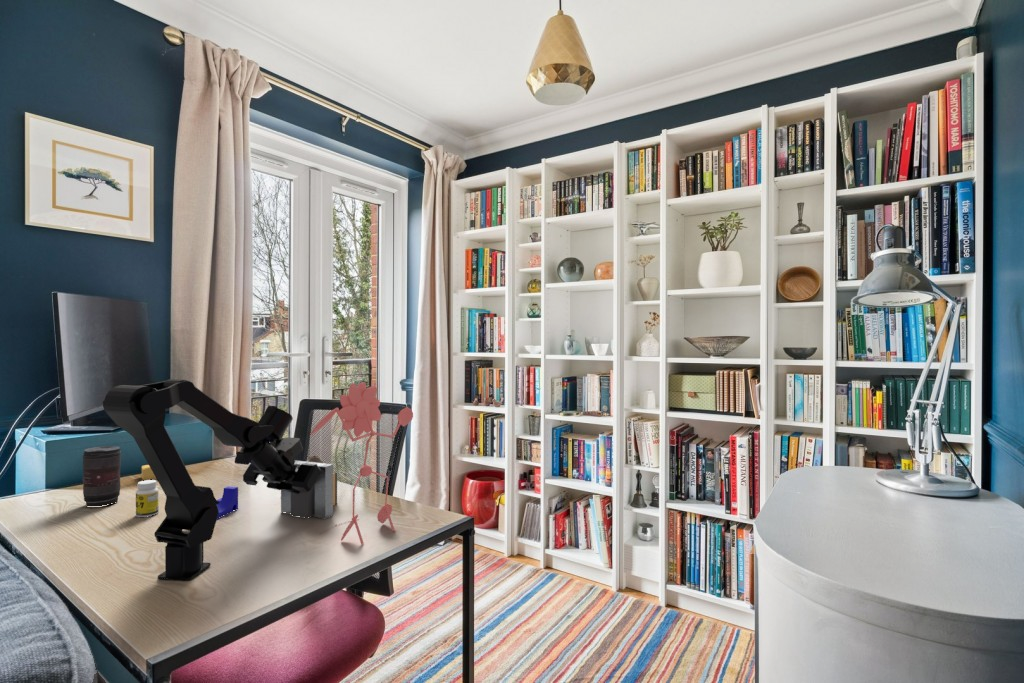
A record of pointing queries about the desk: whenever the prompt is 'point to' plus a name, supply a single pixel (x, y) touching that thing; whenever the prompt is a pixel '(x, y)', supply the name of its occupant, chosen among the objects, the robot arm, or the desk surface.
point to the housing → (316, 491)
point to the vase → (315, 459)
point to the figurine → (359, 416)
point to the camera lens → (101, 475)
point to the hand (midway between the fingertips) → (298, 491)
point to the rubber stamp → (147, 473)
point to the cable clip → (228, 501)
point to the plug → (309, 500)
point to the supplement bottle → (147, 498)
